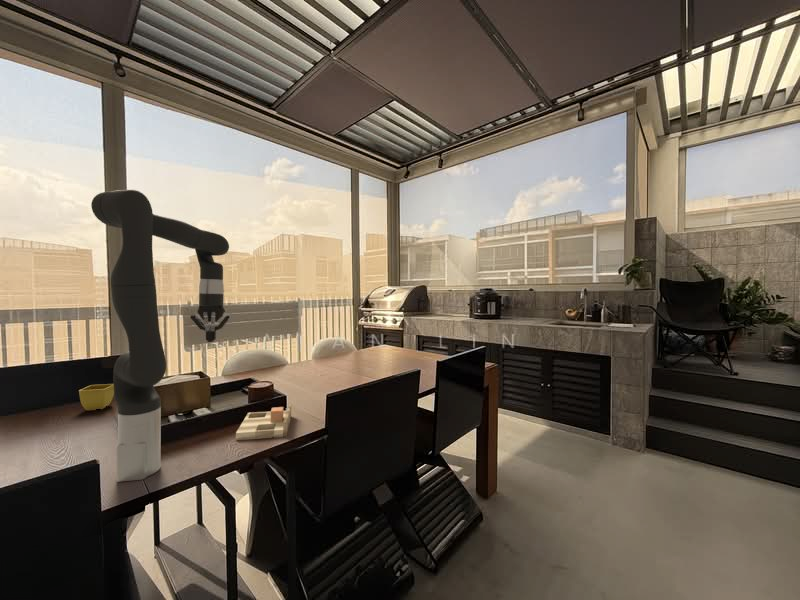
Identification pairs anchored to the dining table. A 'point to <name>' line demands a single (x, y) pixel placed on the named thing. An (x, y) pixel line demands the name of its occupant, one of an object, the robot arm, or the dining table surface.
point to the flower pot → (96, 396)
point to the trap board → (263, 426)
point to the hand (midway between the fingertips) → (210, 341)
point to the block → (277, 414)
